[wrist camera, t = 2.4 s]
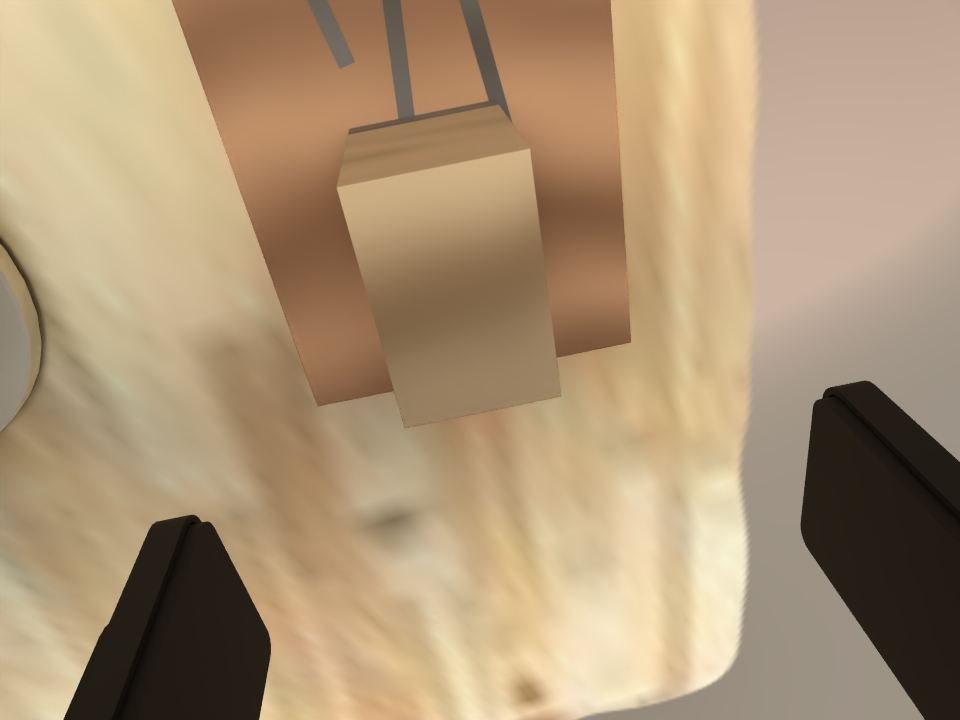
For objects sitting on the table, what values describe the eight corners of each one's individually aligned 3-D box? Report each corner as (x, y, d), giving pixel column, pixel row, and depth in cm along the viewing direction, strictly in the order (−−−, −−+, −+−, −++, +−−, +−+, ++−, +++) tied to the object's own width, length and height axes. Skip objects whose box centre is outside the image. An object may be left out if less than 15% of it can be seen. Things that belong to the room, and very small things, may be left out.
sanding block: (525, 303, 24) (561, 396, 19) (401, 327, 24) (404, 428, 19) (495, 99, 21) (529, 148, 16) (349, 128, 21) (336, 187, 16)
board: (619, 323, 27) (631, 342, 26) (321, 384, 27) (317, 406, 26) (552, -652, 15) (568, -710, 13) (-5, -548, 14) (-43, -596, 13)
